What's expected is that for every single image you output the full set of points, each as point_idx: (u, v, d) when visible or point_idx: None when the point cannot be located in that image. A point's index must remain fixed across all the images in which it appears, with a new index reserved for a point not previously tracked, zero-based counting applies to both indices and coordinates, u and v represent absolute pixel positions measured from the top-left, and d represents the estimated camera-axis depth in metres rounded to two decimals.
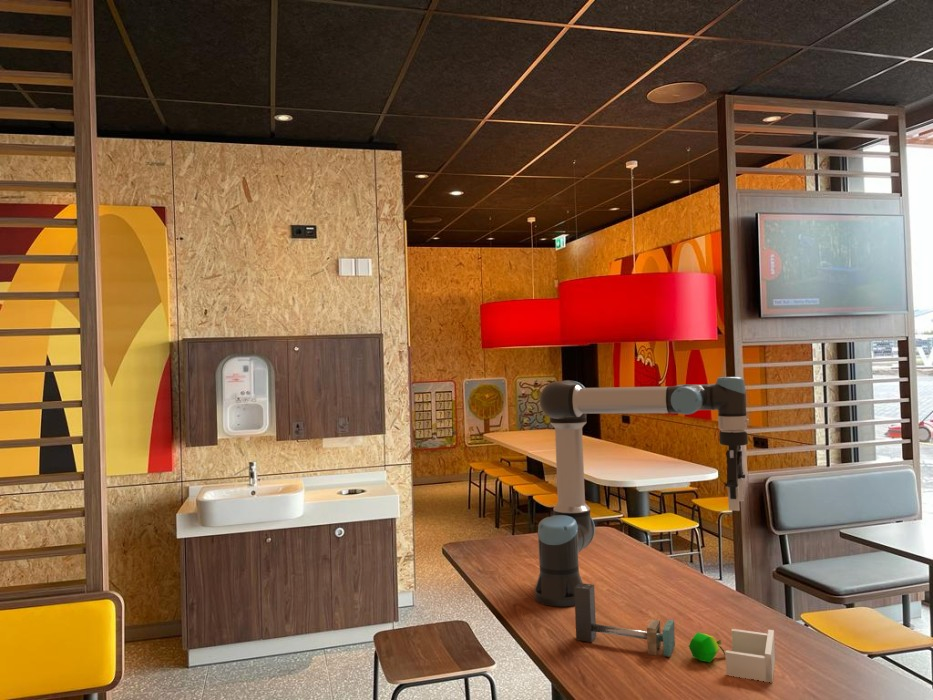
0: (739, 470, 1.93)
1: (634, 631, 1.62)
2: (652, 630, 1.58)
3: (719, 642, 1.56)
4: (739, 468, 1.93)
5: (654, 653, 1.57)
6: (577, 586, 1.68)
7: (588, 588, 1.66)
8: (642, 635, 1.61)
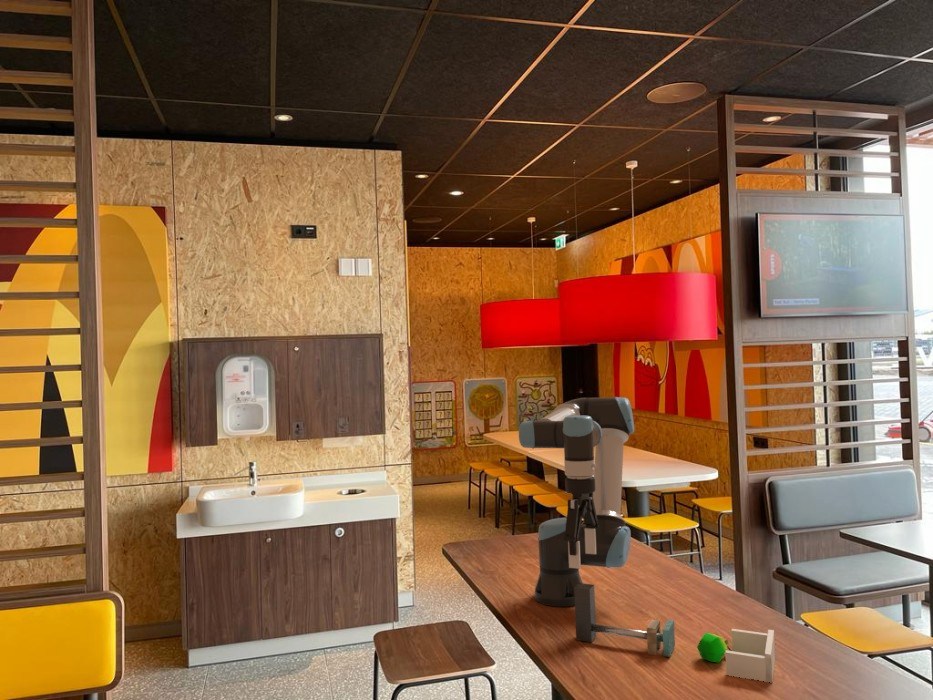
0: (590, 519, 1.73)
1: (634, 631, 1.62)
2: (652, 630, 1.58)
3: (726, 642, 1.56)
4: (590, 517, 1.73)
5: (654, 653, 1.57)
6: (577, 586, 1.68)
7: (588, 588, 1.66)
8: (642, 635, 1.61)
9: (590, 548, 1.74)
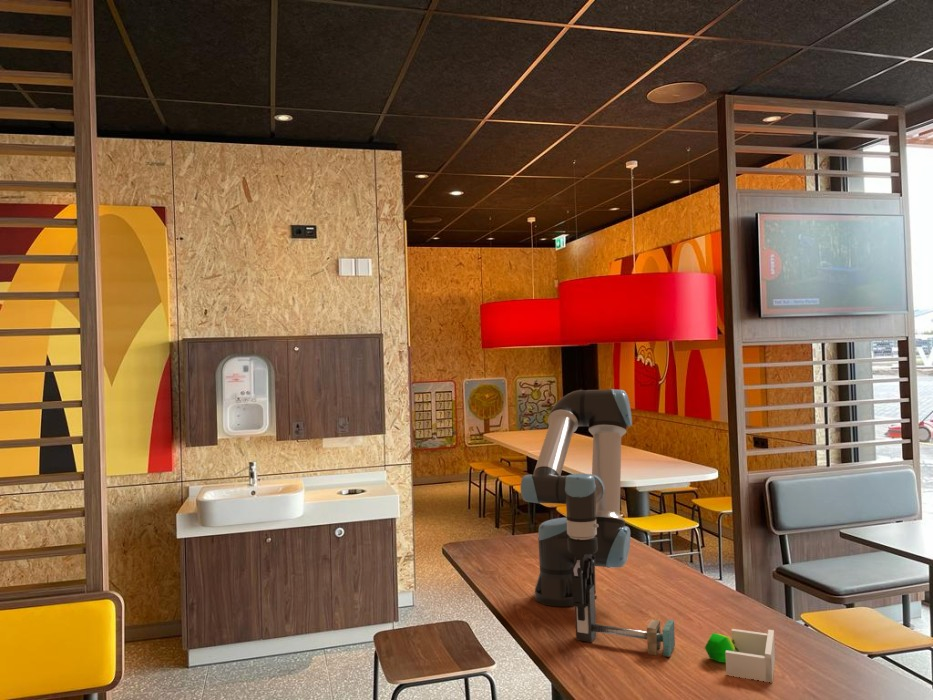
0: None
1: (634, 631, 1.62)
2: (652, 630, 1.58)
3: (733, 642, 1.56)
4: (589, 583, 1.70)
5: (654, 653, 1.57)
6: None
7: (588, 588, 1.66)
8: (642, 635, 1.61)
9: None
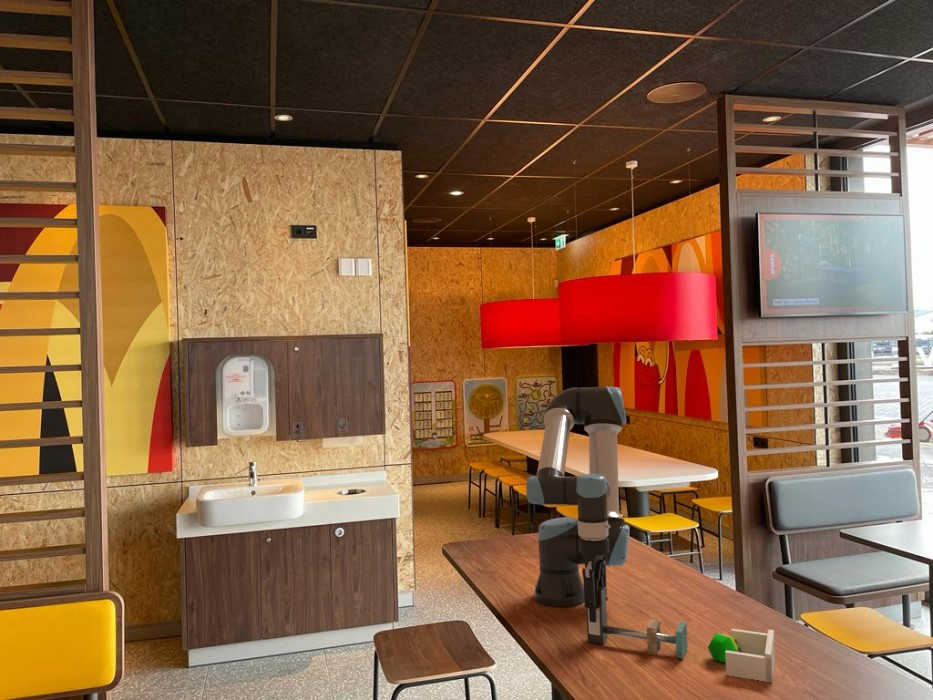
0: None
1: (646, 633, 1.61)
2: (652, 630, 1.58)
3: (735, 641, 1.56)
4: (600, 584, 1.68)
5: (654, 653, 1.57)
6: None
7: (600, 589, 1.65)
8: None
9: None
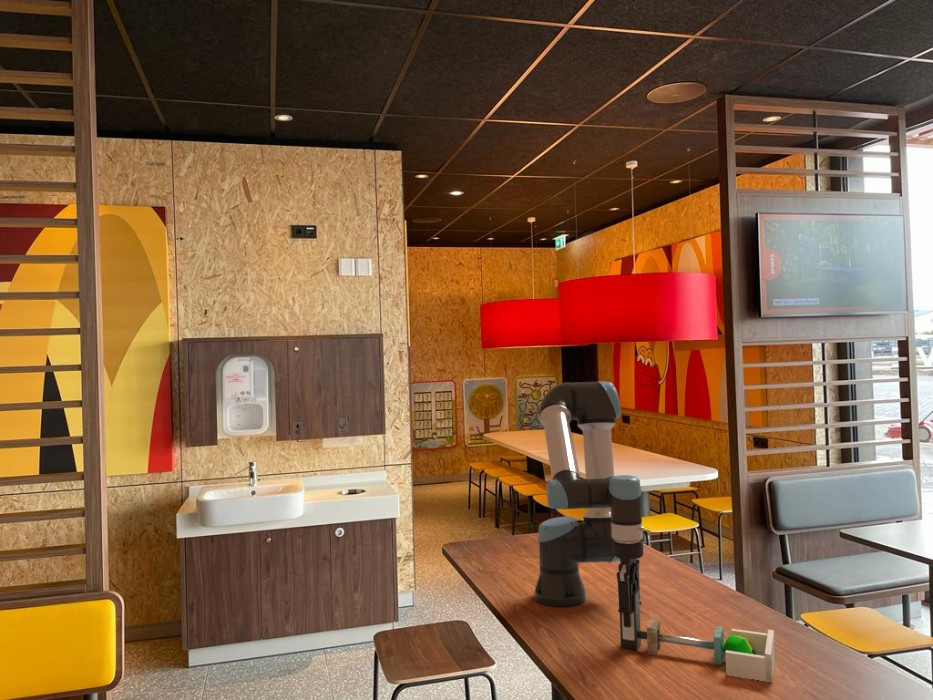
0: None
1: (682, 638, 1.57)
2: (652, 630, 1.58)
3: (748, 643, 1.55)
4: (634, 588, 1.64)
5: (654, 653, 1.57)
6: None
7: (633, 594, 1.61)
8: (691, 642, 1.55)
9: None
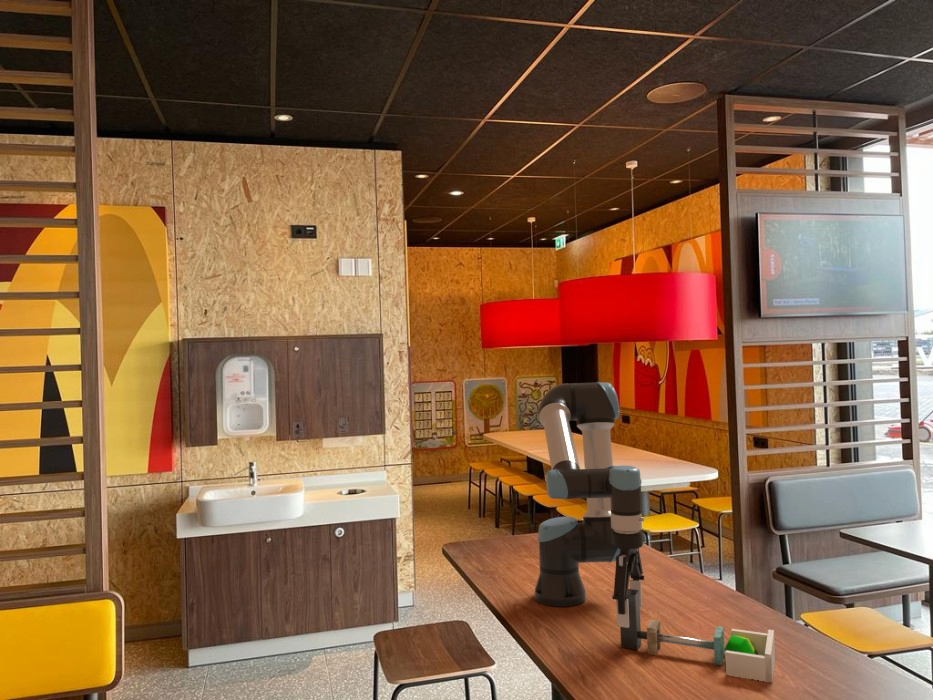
0: (636, 572, 1.68)
1: (682, 638, 1.57)
2: (652, 630, 1.58)
3: (750, 643, 1.55)
4: (636, 570, 1.67)
5: (654, 653, 1.57)
6: None
7: (633, 594, 1.61)
8: (691, 642, 1.55)
9: None
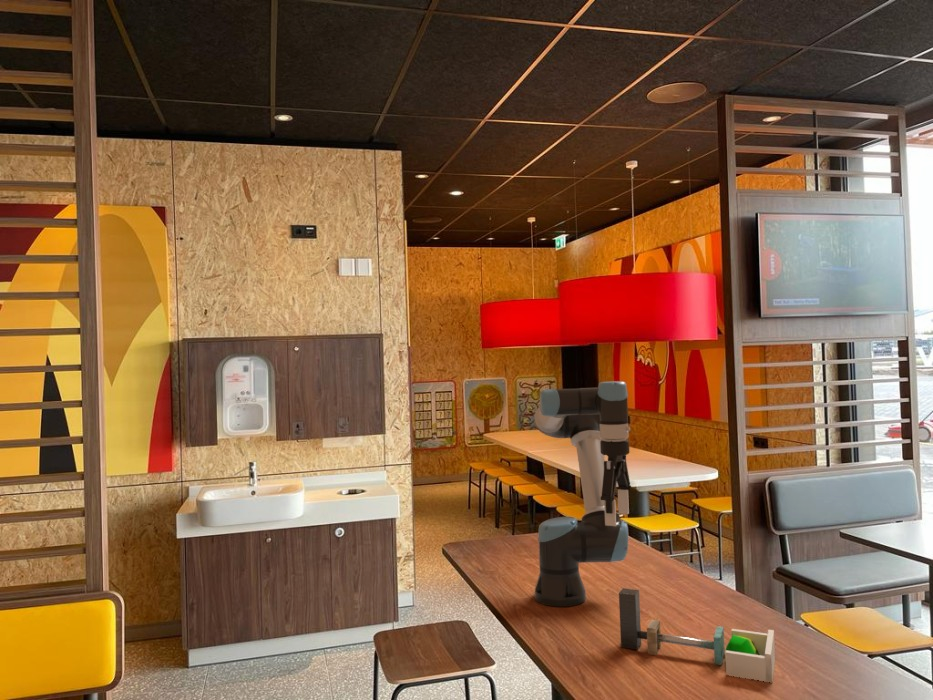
0: (623, 481, 1.81)
1: (682, 638, 1.57)
2: (652, 630, 1.58)
3: (752, 643, 1.55)
4: (623, 479, 1.80)
5: (654, 653, 1.57)
6: (622, 591, 1.63)
7: (633, 594, 1.61)
8: (691, 642, 1.55)
9: (623, 508, 1.82)
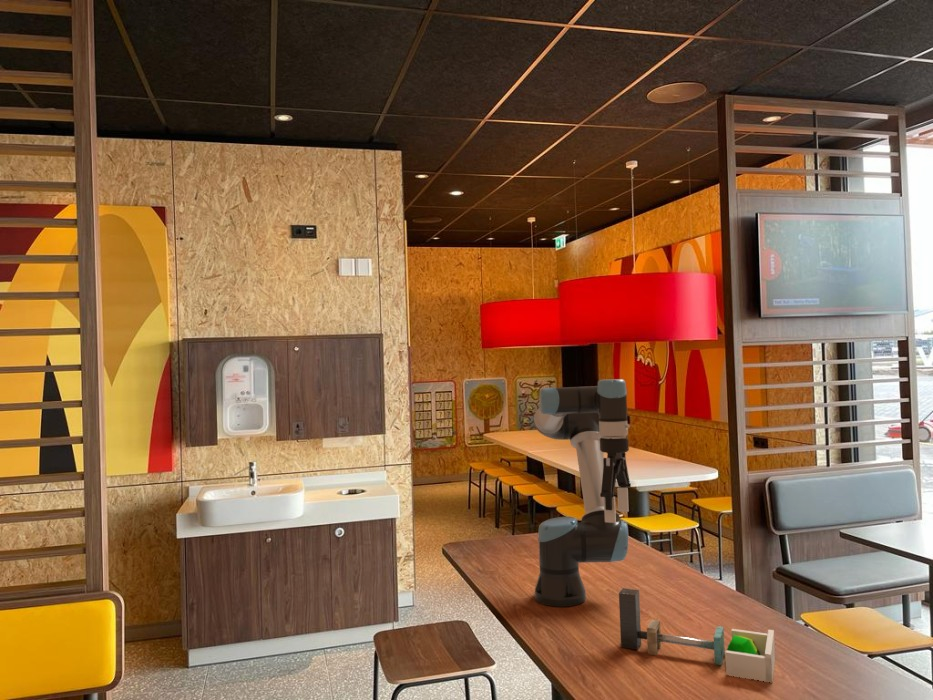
0: (623, 479, 1.81)
1: (682, 638, 1.57)
2: (652, 630, 1.58)
3: None
4: (623, 476, 1.81)
5: (654, 653, 1.57)
6: (622, 591, 1.63)
7: (633, 594, 1.61)
8: (691, 642, 1.55)
9: (623, 506, 1.82)
